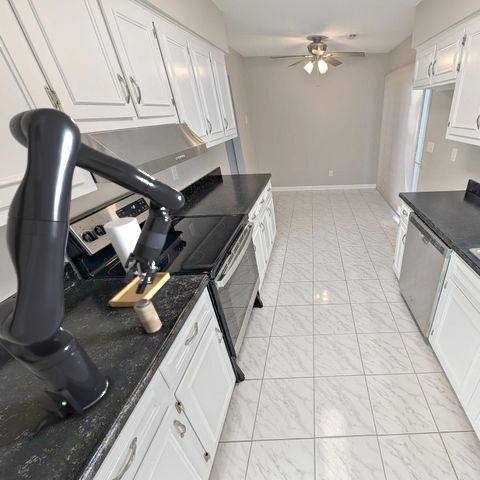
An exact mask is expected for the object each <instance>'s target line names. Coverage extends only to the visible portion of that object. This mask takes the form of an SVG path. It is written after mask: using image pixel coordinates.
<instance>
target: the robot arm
mask: <svg viewBox="0 0 480 480" xmlns="http://www.w3.org/2000/svg"><path fill="white" fill-rule="evenodd" d="M8 128H9V132H10V134H11V136H12V137H13V138H14V140H15V141H16V142H17V143H18V144H20V146H22V147H24V148H25V149H27V155H26V168H25V171H24V175H23V177H22V179H21V181H20V183H19V185H18V187H17V188H16V191H15V193H14V194H13V197H12V199H11V202H10V204H9V207H8V212H7V218H6V227H5V228H6V230H5V244H6V249H7V252H8V254H9V255H8V256H9V259H10V260H11V263H12V266H13V269H14V272H15V276H16V295H15V297H14V298H10V299H8V300H5V301H3V302H1V303H0V345H1V346H2V347H3V348H4V349H5V350H6V351H7V352H8V353H9V354H10V355H11V356H12V357H13V358H14V359H15V360H16V361H18V362H19V363H20V364H22V365H24V366H25V367H26V368H27V369H28V370H29V371H30V372H31V373H32V375H34V376H35V378H36V379H37V380H38V381H39V382H40V383H41V384H42V385H43V386H44V387H43V388H42V391H43V392H44V393H45V394H46V395H47V396H48V397H49V398H50V399H51V400H49V401H48V402H47V403H46V404H45V405H44V406H43V407H42V409H43V410H44V411H45V412H46V413H47V415H45V417H44V418H43V419H41V420H40V421H39V423H37V424H36V425H35V427H34V429H33V430H31V431H29V432H28V433H27V435H28V436H29V438H31V437H32V436H34V435H36V434H37V433H38V432H39V431H40V429H41V428H42V426H44V424H46V423H47V422H48V421H49V420H50V419H51V418H52V417H53V416H54V417H57V418H60V419H61V418H62V419H64V418H65V417H66V416H67V415H68V414H71V415H77V416H81V415H83V413H84V412H85V411H87V410H89V409H91V408H93V407H94V406H95V405H96V404H98V403H99V402H100V401H101V400H102V399H103V398H104V397H105V396H106V394H107V393H108V391H109V388H110V382H109V381H108V379H107V378H106V377H105V376H104V374H103V373H102V372H101V370H100V369H99V367H98V366H97V364H95V362H94V360H92V358H91V356H90V355H89V354H88V353H87V351H86V350H85V348H84V347H83V345H82V344H81V343H80V341H79V340H78V339H77V337H76V336H75V334H73V333H72V332H71V331H69V330H68V329H67V328H65V327H64V326H63V323H64V321H65V293H64V276H65V275H64V273H65V266H66V254H67V244H68V237H69V230H70V219H71V218H70V216H71V204H72V194H73V193H72V190H73V180H74V174H75V173H74V172H75V170H76V167H77V168H80V169H82V170H84V171H87V172H89V173H91V174H93V175H96V176H98V177H100V178H102V179H105V180H106V181H109V182H111V183H113V184H115V185H117V186H119V187H122V188H123V189H126V190H127V191H129V192H131V193H133V194H136V195H138V196H140V197H142V198H145V199H148V200H149V201H148V202H149V204H148V212H147V217H146V220H145V222H144V225H143V227H142V229H141V233H140V235H139V237H138V240H137V242H136V245H135V247H134V250H133V252H131V253H130V255H129V257H128V259H127V261H126V264H125V266H124V267H123V269H124V268H126V271H125V273H126V272H127V273H126V274H125V275H124V278H123V283H124V284H129V283H131V282H132V281H133V280H134V276H135V275H136V274H135V272H136V271H137V272H138V274H137V276H138V277H140V283H139V284H138V287H137V289H136V292H135V293H136V294H143V293H144V291H145V288H146V286H147V284H153V281H154V279H155V276H156V273H158V269H159V267H158V266H155V265H154V266H153V261H154V262H155V261H157V260H159V258H160V256H161V254H162V250H163V248H164V245H165V243H166V240H167V236H168V234H169V233H168V232H169V230H170V228H171V226H172V221H173V220H172V218H171V217H170V216H169V212H170V211H178V210H181V209H182V208H183V207H184V205H185V202H186V201H185V196H184V194H183V193H182V192H181V191H180V190H178V189H177V188H175V187H172V186H170V185H168V184H167V183H164V182H162V181H160V180H158V179H157V178H156V177H154V176H152V175H151V174H149V173H147V172H145V171H144V170H142V169H141V168H139V167H137V166H135V165H134V164H131V163H129V162H127V161H125V160H122V159H120V158H117V157H114V156H113V155H109V154H107V153H104V152H102V151H100V150H97V148H93V147H91V145H88V144H86V143H84V142H82V134H81V130H80V128H79V126H78V124H77V123H76V121H75V120H74V119H73V118H72V117H71V116H70V115H69V114H68V113H66V112H64V111H62V110H59V109H56V108H53V107H51V108H50V107H38V108H33V109H29V110H24V111H21V112H19V113H16V114H15V115H13V116H12V117H11V118H10V120H9V123H8ZM129 263H131V264H130V265H129ZM143 273H146V274H143ZM143 277H145V278H144V280H143ZM150 277H151V279H150Z"/></svg>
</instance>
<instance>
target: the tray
mask: <svg viewBox="0 0 480 480" xmlns="http://www.w3.org/2000/svg"><path fill="white" fill-rule="evenodd" d="M143 274H146V273H143ZM144 278H145V277H143V280H144ZM170 278H171V275H170V273H169V272H157V273H156V276H155V279H154V281H153V284H147V286H146V288H145V291H144V293H143V294H136V293H135V292H136V289H137V287H138V284H139V283H140V277H138V275H137V276H136V277H135V278H133V279H132V282H131V283H127V284H126V286H124V287H123V288H122V289H121V290H120V291H119V292H117V294H115V295H114V296H113V297H112V298H111V299H109V301H108V303H109V305H110V307H113V308H114V307H115V308H117V307H119V308H120V307H121V308H122V307H134V306H135V303H136V302H137V301H139V300H141V299H148V300H151V299H152V298H153V297H154V295H155V294H156V293H157V292H158V291H159V290H160V289H161V288H162V287H163V286H164V285H165V284H166V282H167V281H168V280H169V279H170ZM150 279H151V277H150Z"/></svg>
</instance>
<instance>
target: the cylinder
mask: <svg viewBox="0 0 480 480" xmlns="http://www.w3.org/2000/svg"><path fill="white" fill-rule="evenodd" d="M103 229H104V231H105V233H106V236H107V237H108V239H109V241H110V243H111V245H112V247H113V249H114V251H115V253H116V255H117V258H118V259H119V261H120V263H121V265H122V267H123V269H124V271H125V273H127V272H126V268H124V266H125V264H126V261H127V259H128V257H129V255H130V253H131V252H133V250H134V247H135V245H136V242H137V240H138V237H139V235H140V233H141V231H142V229H141V227H140V225H139V223H138V221H137V219H136V217H134V216H126V217H119V218H117V219H113V220H111V221H109V222H106V223H105V224H104V225H103ZM130 264H131V263H129V265H130ZM153 266H154V267H155V266H156V263H155V261H153ZM134 275H138V272H137V271H136V272H135V274H134Z"/></svg>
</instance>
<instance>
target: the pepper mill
mask: <svg viewBox="0 0 480 480" xmlns="http://www.w3.org/2000/svg"><path fill="white" fill-rule="evenodd" d="M133 309H134V311H135V313H136V315H137V316H138V318H139V321H140V323H141V324H142V326H143V328H144V330H145V332H146V333H147V334H154V333H156V332H158V331H159V330H160V329H162V326H163V323H162V321H161V318H160V317H159V315H158V313H157V311H156V309H155V307H154V305H153V303H152V300H151V299H149V300H148V299H141V300H139V301H137V302H136V303H135V306H133Z"/></svg>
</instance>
